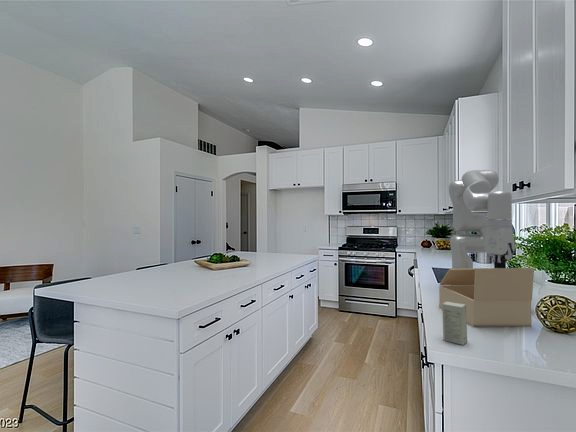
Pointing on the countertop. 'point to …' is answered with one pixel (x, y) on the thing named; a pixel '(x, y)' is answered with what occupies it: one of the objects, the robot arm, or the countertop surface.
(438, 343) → the countertop surface
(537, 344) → the countertop surface
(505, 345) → the countertop surface
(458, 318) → the skincare box
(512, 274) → the outer flap
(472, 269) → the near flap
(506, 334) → the countertop surface
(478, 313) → the carton
